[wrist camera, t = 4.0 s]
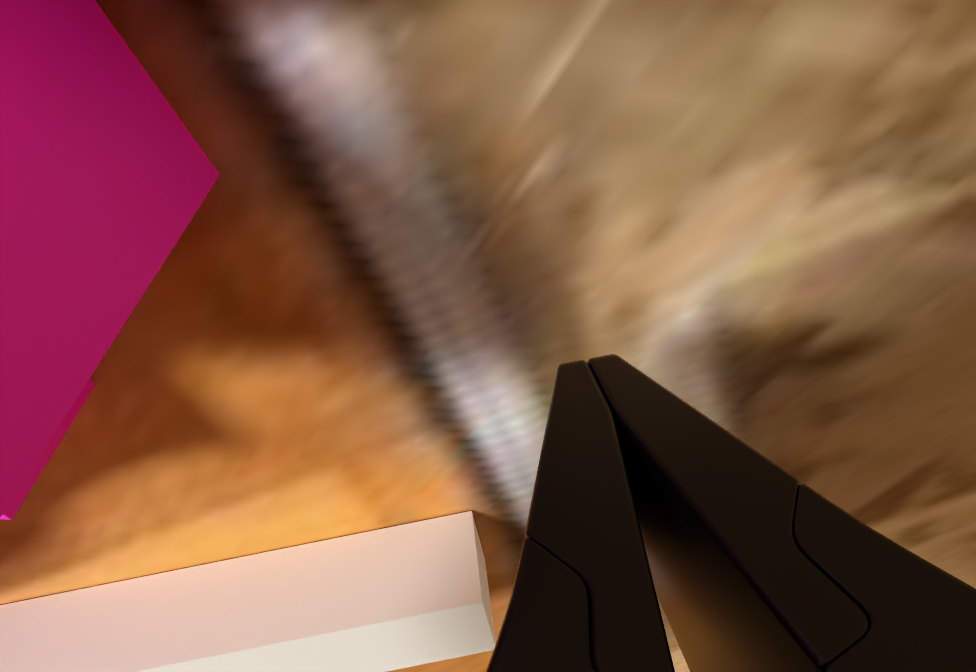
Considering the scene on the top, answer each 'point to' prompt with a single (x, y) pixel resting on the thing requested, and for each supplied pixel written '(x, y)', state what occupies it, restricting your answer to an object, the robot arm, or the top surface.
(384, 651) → the chute
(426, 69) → the top surface
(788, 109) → the top surface
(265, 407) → the top surface
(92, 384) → the toy block
